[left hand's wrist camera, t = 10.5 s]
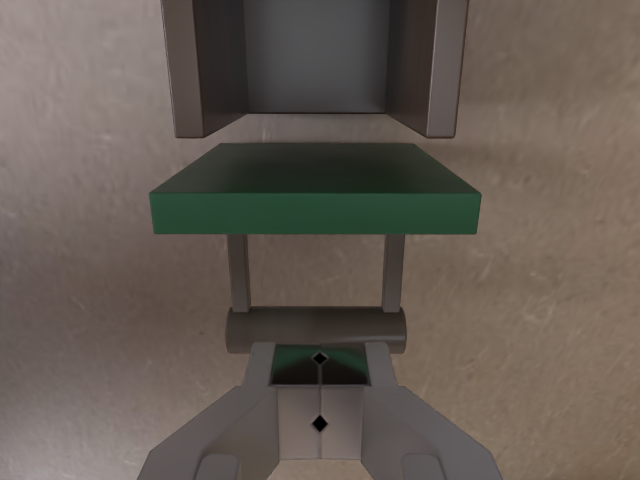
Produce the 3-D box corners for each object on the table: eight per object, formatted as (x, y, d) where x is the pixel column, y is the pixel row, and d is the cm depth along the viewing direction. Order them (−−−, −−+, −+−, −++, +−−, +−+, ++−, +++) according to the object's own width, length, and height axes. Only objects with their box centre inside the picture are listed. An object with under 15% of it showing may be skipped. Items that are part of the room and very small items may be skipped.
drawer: (404, 276, 23) (456, 398, 14) (229, 276, 23) (174, 398, 14) (442, -245, 16) (587, -621, 7) (190, -246, 16) (39, -624, 7)
